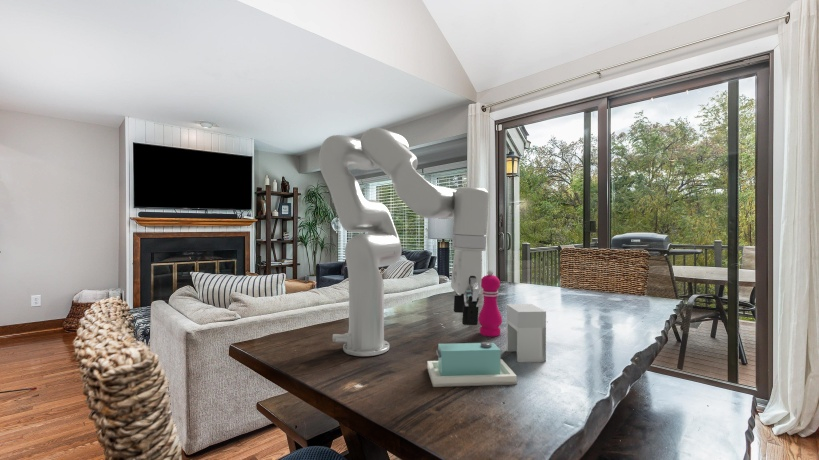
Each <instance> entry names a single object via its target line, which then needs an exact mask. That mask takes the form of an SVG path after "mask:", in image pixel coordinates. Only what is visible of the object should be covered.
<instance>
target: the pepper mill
mask: <svg viewBox="0 0 819 460" xmlns="http://www.w3.org/2000/svg"><path fill="white" fill-rule="evenodd" d="M500 287H501V281H500V279H499V278H498V277H497V276H496V275H494V272H493V270H492V269H491V270H490V269H489V270H487V274H486V275H484V276H482V279H481V289H482V290H481V293H482V294H481V296H483V304H482V307H481V309H480V312H479V313H478V324H479V325H480V328H479V333H480V335H482V336H484V337H493V338H494V337H499V336H501V328H500V326H501V325H502V323H503V319H502V314H501V312H500V309H499V307H498V301H497V299H498V296H499V288H500Z"/></svg>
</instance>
